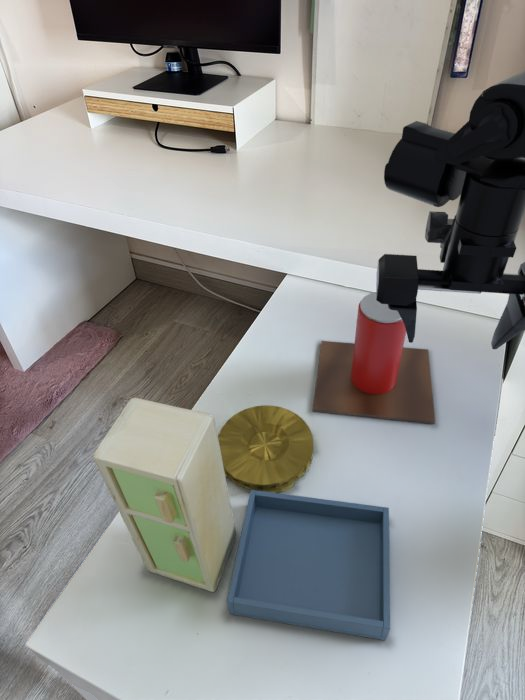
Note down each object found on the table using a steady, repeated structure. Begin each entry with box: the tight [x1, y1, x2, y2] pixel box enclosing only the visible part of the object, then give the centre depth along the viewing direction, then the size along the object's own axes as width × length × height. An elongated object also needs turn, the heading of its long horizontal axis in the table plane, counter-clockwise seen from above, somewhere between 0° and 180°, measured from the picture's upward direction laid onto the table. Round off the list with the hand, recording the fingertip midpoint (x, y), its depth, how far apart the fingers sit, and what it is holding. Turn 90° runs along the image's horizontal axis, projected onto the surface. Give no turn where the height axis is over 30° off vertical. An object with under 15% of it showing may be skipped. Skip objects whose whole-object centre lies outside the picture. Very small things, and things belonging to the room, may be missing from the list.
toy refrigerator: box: [92, 397, 237, 593], centre depth 47 cm, size 8×7×21 cm
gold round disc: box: [217, 404, 314, 494], centre depth 63 cm, size 12×12×2 cm
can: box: [351, 291, 407, 394], centre depth 68 cm, size 6×6×13 cm
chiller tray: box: [226, 489, 391, 641], centre depth 52 cm, size 15×12×3 cm
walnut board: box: [312, 340, 436, 425], centre depth 72 cm, size 16×14×1 cm
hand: (451, 343), depth 58 cm, fingers open, 9 cm apart
